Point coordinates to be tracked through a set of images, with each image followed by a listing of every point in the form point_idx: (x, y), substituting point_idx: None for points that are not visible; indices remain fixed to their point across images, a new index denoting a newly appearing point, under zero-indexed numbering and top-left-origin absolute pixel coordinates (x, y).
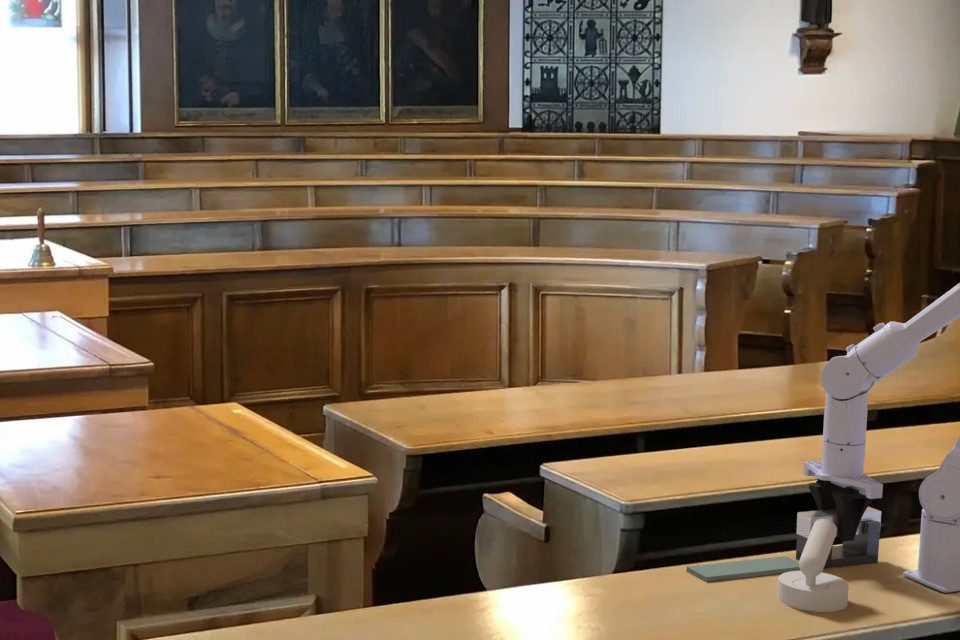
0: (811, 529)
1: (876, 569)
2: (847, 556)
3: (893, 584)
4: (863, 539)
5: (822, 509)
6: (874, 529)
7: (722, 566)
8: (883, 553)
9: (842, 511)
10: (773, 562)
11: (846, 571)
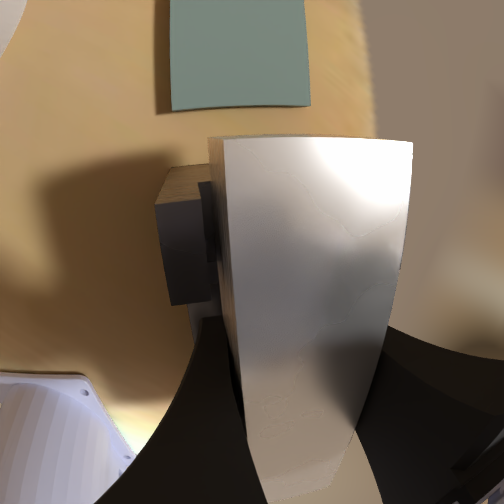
0: (213, 148)
1: (147, 349)
2: (200, 308)
3: (23, 317)
4: None
5: (385, 355)
6: None
7: None
8: None
9: (170, 431)
10: (251, 18)
11: (135, 255)
